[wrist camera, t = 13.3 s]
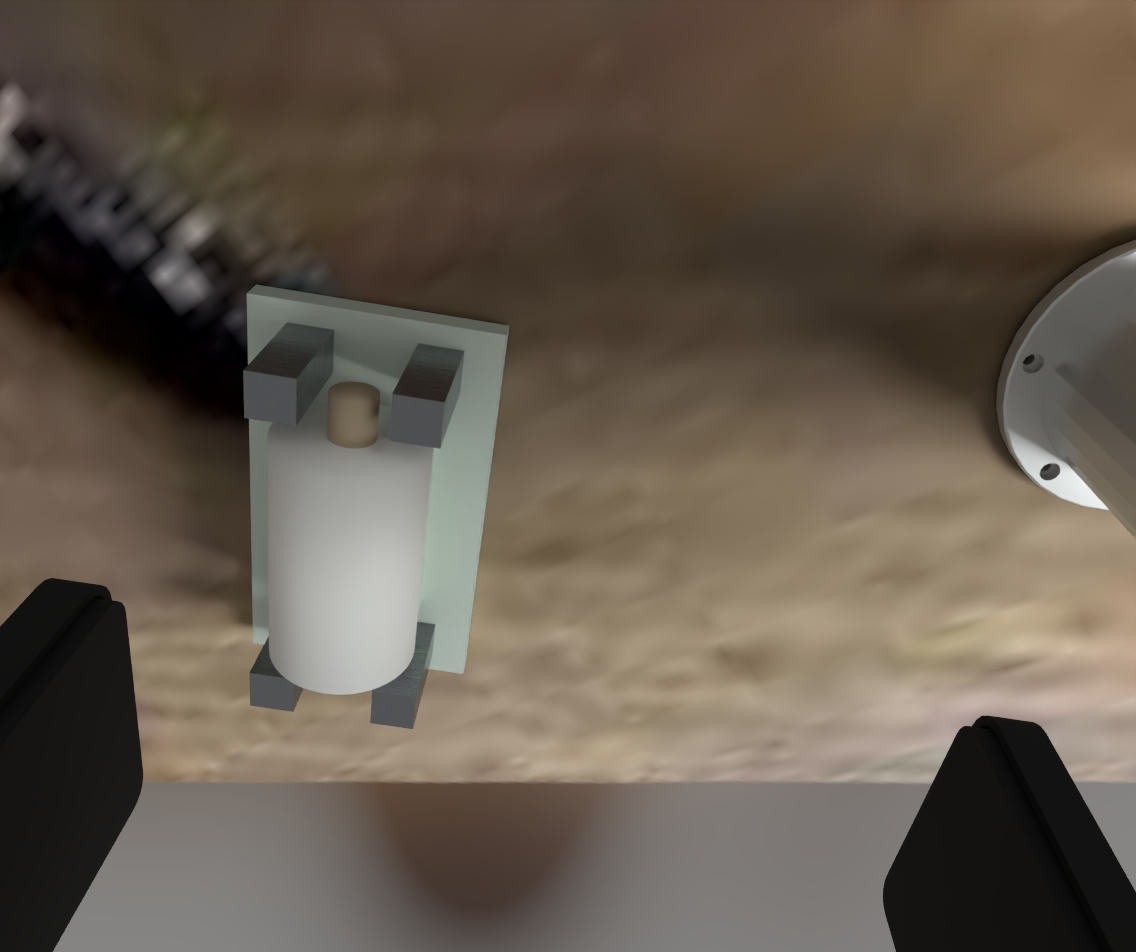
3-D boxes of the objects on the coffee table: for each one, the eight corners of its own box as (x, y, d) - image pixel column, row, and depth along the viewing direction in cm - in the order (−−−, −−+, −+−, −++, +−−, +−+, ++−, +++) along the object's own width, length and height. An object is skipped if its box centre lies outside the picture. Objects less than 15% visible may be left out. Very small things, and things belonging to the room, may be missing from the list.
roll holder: (509, 325, 40) (492, 385, 34) (466, 658, 49) (446, 749, 43) (256, 284, 39) (196, 338, 34) (260, 628, 49) (214, 715, 43)
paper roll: (452, 375, 39) (416, 444, 33) (425, 645, 46) (391, 739, 41) (301, 348, 39) (239, 411, 33) (298, 621, 47) (246, 712, 41)
